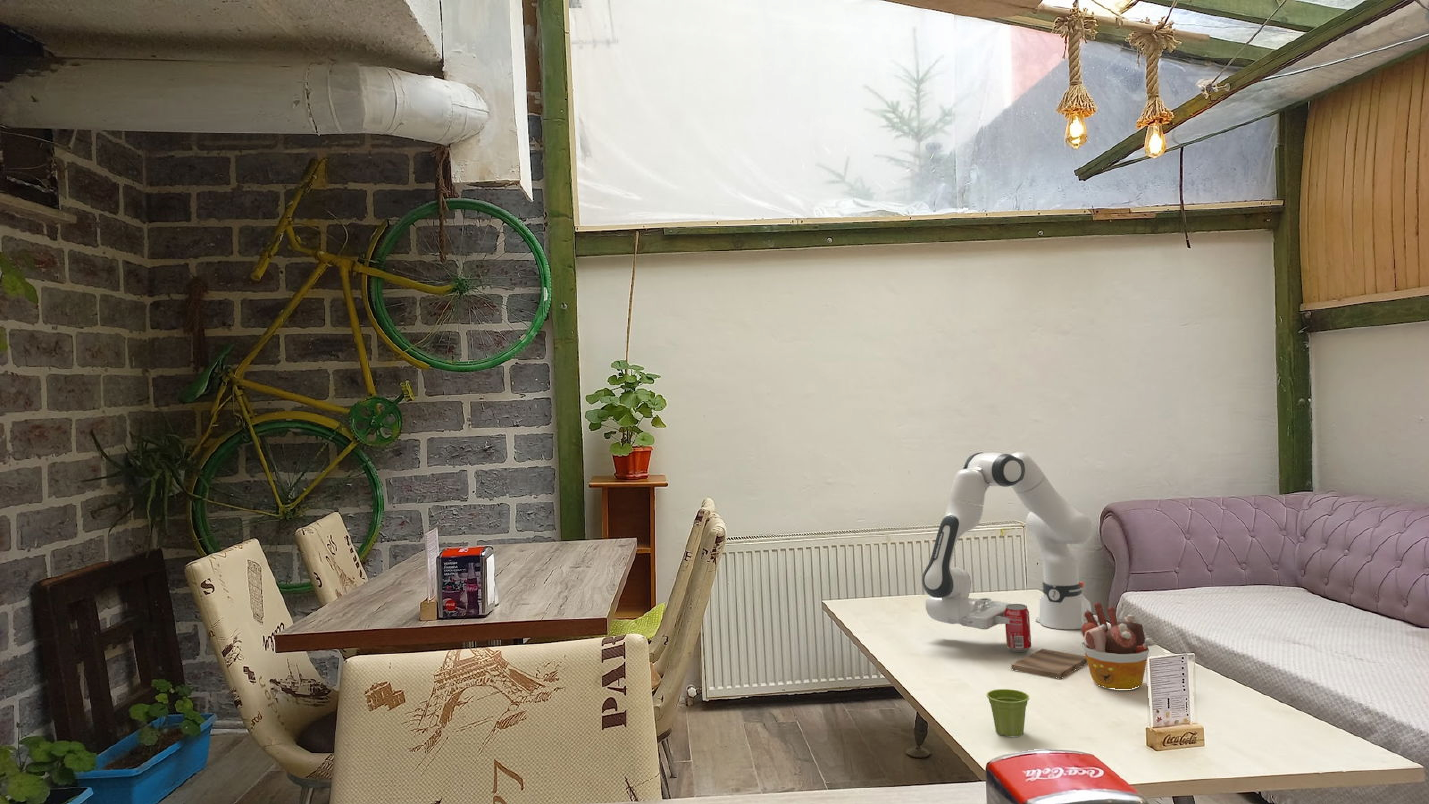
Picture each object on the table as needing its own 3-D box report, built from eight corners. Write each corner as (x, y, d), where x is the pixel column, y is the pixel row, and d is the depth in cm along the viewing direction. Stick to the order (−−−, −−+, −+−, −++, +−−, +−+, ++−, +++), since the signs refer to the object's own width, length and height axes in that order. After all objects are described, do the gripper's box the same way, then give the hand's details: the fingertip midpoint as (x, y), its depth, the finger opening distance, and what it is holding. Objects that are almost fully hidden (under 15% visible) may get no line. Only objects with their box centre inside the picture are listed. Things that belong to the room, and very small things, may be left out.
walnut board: (1042, 653, 260) (1042, 648, 260) (1089, 661, 250) (1089, 656, 250) (1011, 669, 246) (1011, 664, 246) (1060, 679, 236) (1059, 673, 236)
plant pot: (981, 726, 204) (980, 690, 204) (1020, 723, 205) (1018, 687, 205) (998, 741, 195) (996, 703, 195) (1038, 738, 195) (1036, 700, 195)
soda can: (1034, 652, 258) (1031, 609, 258) (1009, 652, 259) (1007, 609, 258) (1028, 644, 265) (1025, 602, 265) (1004, 645, 266) (1001, 603, 266)
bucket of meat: (1166, 695, 220) (1162, 617, 220) (1101, 697, 220) (1097, 619, 220) (1129, 671, 240) (1126, 599, 240) (1070, 673, 240) (1066, 602, 240)
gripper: (957, 610, 264) (999, 616, 254) (989, 596, 278) (1030, 602, 269) (958, 630, 264) (1000, 637, 254) (990, 616, 278) (1031, 622, 269)
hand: (1016, 619), depth 261 cm, fingers closed on soda can, 3 cm apart
